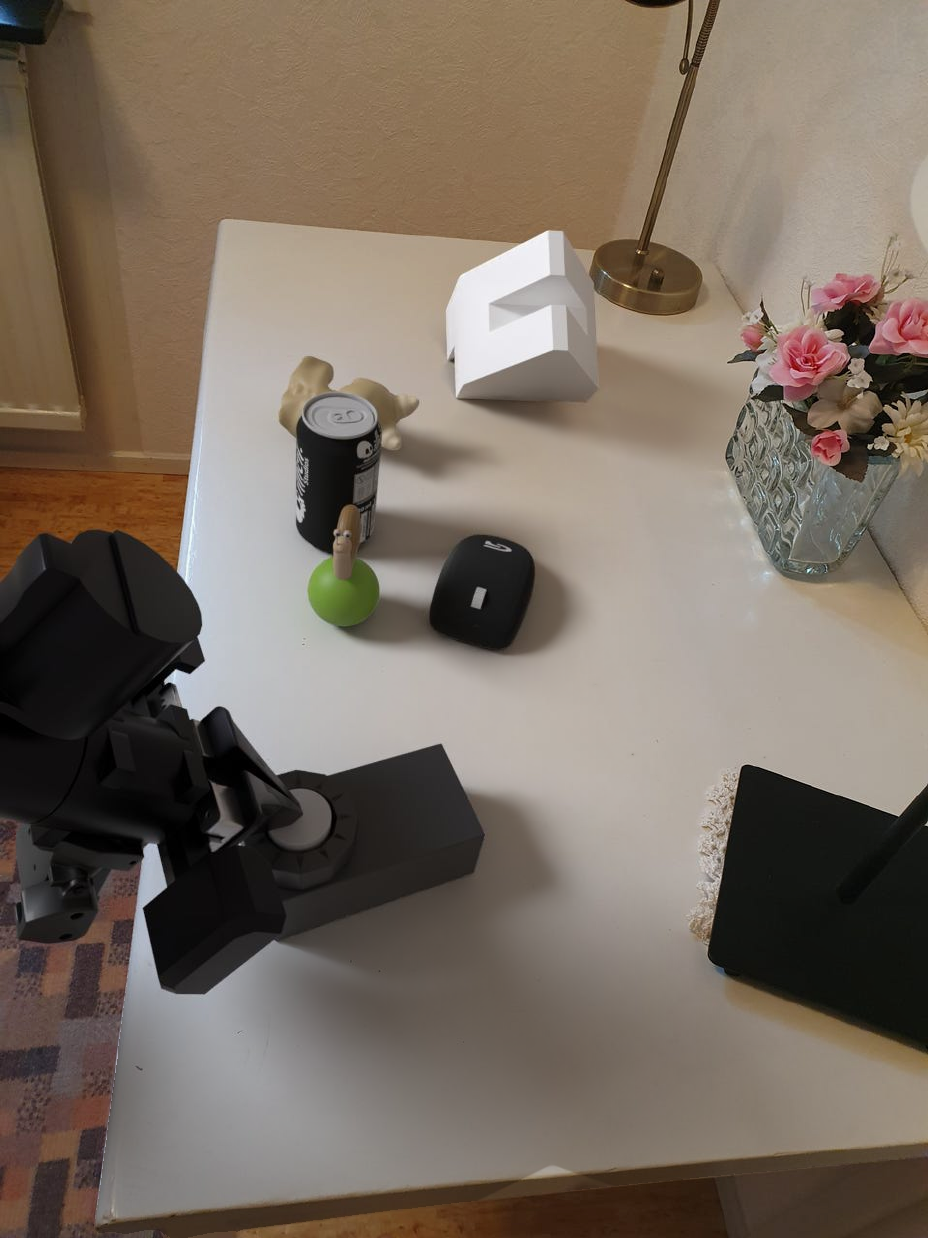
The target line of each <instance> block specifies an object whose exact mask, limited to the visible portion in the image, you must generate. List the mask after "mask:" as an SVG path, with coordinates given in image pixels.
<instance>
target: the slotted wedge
mask: <svg viewBox="0 0 928 1238" xmlns="http://www.w3.org/2000/svg"><path fill="white" fill-rule="evenodd" d="M595 298H596V297H595V283H594V280H593V279H592V277H591V276H590V274H589V272H588V271H587V269H586V267H585V266H584V264H583V262H582V260H581V258H579V256H578V254H577V252H576V250H575V249H574V247H573V246H572V243H571V242H570V241H569V239H568V237H567V235H566V234H565V232H564V231H563V230H549V229H548V230H546V231H544V232H542V233H540V234H538V235H536V236H534V237H532V238H529V239H528V240H526V241H524V242H522V243H520V244H518V245H516V246H515V247H512V248H510V249H509V250H507V251H505V252H503V253H501V254H499V255H497V256H495V257H493V258H491V259H489V260H487V261H485V262H483V263H481V264H479V265H477V266H475V267H473V268H472V269H470V270H467V271H466V272H463V273H462V274H461V275H460V274H459V276H458V278H457V282H456V285H455V287H454V289H453V292H452V294H451V296H450V299H449V301H448V304H447V307H446V309H445V328H446V333H445V334H446V361H448V360H449V358H450V356H451V354H452V352H453V351H454V378H455V379H454V380H455V381H454V382H455V399H462V400H463V399H466V400H494V401H495V400H496V401H497V400H500V401H525V402H526V401H527V402H528V401H529V402H554V403H555V402H559V403H560V402H562V403H587V402H588V401H589V400H590V399H591V398H592V397H593V396H594V395H595V394H596V393H597V392H598V391H599V389H600V388H599V387H600V386H599V366H598V362H599V361H598V346H597V345H598V342H597V340H598V339H597V323H596V322H597V321H596V300H595Z"/></svg>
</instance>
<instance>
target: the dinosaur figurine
mask: <svg viewBox="0 0 928 1238" xmlns="http://www.w3.org/2000/svg"><path fill="white" fill-rule="evenodd" d="M334 371H335V370H334V366H333V365H332V364H331V363H330V362H328V361H326V360H323V359H320V358H318V357H316V356H313V355H305V356H304V357H303V358H301V361H300V362H299V363H298V364H297V366H296V368H295V369H294V370H293V372H292V373H291V375H290V377H289V384H288V387H287V389H286V390H285V391H284V393H283V394H282V396H281V404H280V405H281V406H280V408H279V410H278V423H279V425H281V426H282V427H283V428H284V429H285V430H286V431H287V432H288V433H289V434H290V435H292V436H293V437H294V438H295V439H296V425H297V422H298V420H299V418H300V417H301V416H302V409H303V406H304V404H305V403H306V402H307V401H308V400H309V399H311V398H312V397H314V396H316V395H319V394H323V393H328V392H345V393H350V394H354V395H357V396H360V397H362V398H364V399H366V400H367V401H369V402H370V403H371V404H372V405H373V406H374V407H375V409H376V411H377V414H378V422H379V424H380V426H381V429H382V441H381V448H384V449H385V450H389V451H397V450H399V449H400V448H401V447H402V445H403V444H402V438H401V434H400V431H399V430H398V428H397V425H398V423H399V422H400V421H401V420H403V419H405V418H407V417H409V416H410V415H412V414H414V412H415V411H416V410H417V409H418V408H419V405H420V399H419V398H418V397H416V396H413V395H408V394H394V393H392V392H390V390H389V389H388V388H387V387H386V386H385V385H383V384H382V383H379V382H377V381H375V380H372V379H369V378H365V377H356V378H355V379H353V380H352V381H351V383H350V384H347V385H345V386H343V387H340V389H338V390H334V389H332V388H330V387H329V385H330V384H331V383H332V381H333V380H334V377H335V376H334V375H335V374H334V373H335V372H334Z"/></svg>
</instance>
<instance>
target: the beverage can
mask: <svg viewBox="0 0 928 1238" xmlns="http://www.w3.org/2000/svg"><path fill="white" fill-rule="evenodd" d="M381 441H382V429H381V426H380V424H379V422H378V414H377V411H376V409H375V407H374V406H373V405H372V404H371V403H370V402H369V401H367V400H366V399H364V398H362V397H360V396H357V395H354V394H350V393H345V392H328V393H323V394H319V395H316V396H314V397H312V398H311V399H309V400H308V401H307V402H306V403H305V404H304V406H303V409H302V416H301V417H300V418H299V420H298V422H297V425H296V438H295V526H296V530H297V532H298V534H299V536H301V537H302V539H303V540H304V541H306V543H308V544H310V545H311V546H312V547H314V548H316V549H318V550H321V551H324V552H327V553H333V551H334V549H333V544H334V541H335V537H336V536H334V530H336V529H337V526H338V521H339V517H340V514H341V511H342V509H343V508H344V507H345V506H347V505H355V506H356V507H357V508H358V509H359V511H360V518H361V534H360V542H359V547H360V546H362V545H364V544H365V543H366V542H368V540H370V538H371V537H372V535H373V533H374V530H375V524H376V511H377V499H378V488H379V487H378V486H379V474H380V465H381V464H380V463H381V453H382V452H381V451H382V446H381Z"/></svg>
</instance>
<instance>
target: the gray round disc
mask: <svg viewBox="0 0 928 1238" xmlns="http://www.w3.org/2000/svg"><path fill="white" fill-rule="evenodd" d="M289 791H290V792H291V793H292V794H293V796H294V797H295V798H296V799H297V800H298V802H299V803H300V806H301V809H302V812H303V816H302V817H300V818H299V819H298V820H297V821H296V822H294V823H293V824H291V825H289V826H285V827H282V828H278V829H275V830H271V831H268V832H267V839H268V841H269V842H270V843H272V844H273V845H274V846H275V847H277V848H278V849H279V850H280V851H284V852H290V853H296V854H302V853H305V852H308V851H311V850H315V849H318V848H320V847H321V846H322V845H323V844H324V843H325V842H326V841H327V840H328V839H329V838H330V834H331V809H330V807H329V804H328V803H327V801H326V800H325V799H324V798H323V797H322V796H321V795H319V794H318V793H316V792H314V791H311V790H308V789H293V790H289Z"/></svg>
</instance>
